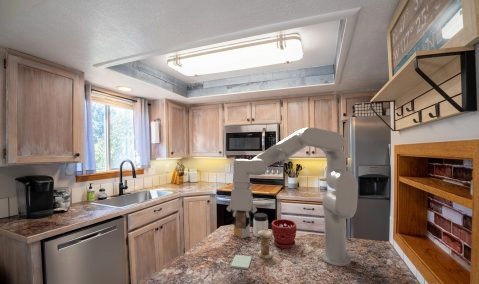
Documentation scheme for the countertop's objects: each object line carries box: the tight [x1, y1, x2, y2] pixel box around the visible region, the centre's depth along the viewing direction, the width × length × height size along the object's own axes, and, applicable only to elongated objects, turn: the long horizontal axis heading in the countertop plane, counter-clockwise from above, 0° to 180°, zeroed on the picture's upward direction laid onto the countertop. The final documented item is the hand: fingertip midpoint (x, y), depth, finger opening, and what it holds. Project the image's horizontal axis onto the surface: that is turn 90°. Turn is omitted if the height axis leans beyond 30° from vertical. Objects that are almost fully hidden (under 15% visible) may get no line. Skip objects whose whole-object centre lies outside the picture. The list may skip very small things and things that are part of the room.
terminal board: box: [230, 254, 253, 270], centre depth 101 cm, size 8×10×1 cm
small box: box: [233, 222, 251, 239], centre depth 133 cm, size 8×6×13 cm
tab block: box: [236, 211, 247, 229], centre depth 102 cm, size 4×4×8 cm
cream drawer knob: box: [257, 229, 273, 260], centre depth 108 cm, size 7×7×11 cm
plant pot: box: [271, 218, 297, 249], centre depth 120 cm, size 13×13×12 cm
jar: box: [252, 212, 269, 238], centre depth 134 cm, size 9×8×12 cm
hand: (241, 224), depth 102 cm, fingers closed on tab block, 4 cm apart
